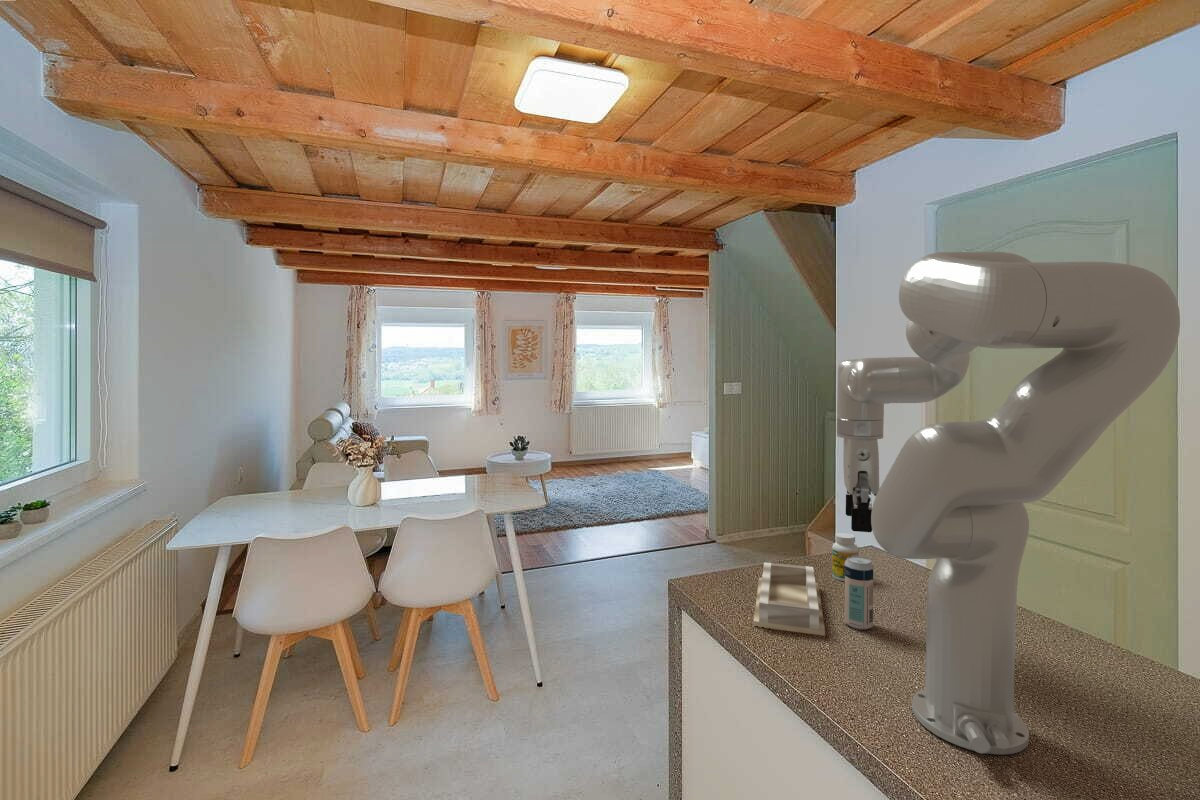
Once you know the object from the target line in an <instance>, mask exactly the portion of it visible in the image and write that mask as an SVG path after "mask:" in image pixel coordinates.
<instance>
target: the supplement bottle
mask: <svg viewBox="0 0 1200 800" xmlns="http://www.w3.org/2000/svg"><path fill="white" fill-rule="evenodd" d="M834 535H835V536H834V539H835V540H834V541H835V542H834V543H833V544H832V546H831V548H832V549H831V550H832V551H831V553H832V555H831V558H832V559H831V561H832V562H831V563H832V564H831V566H832V567H831V568H832V569H831V570H832V572H831V573H832V577H833V578H834V579H835V580H838V581H840V582H845V562H846V560H847V559H848V557H851V556H856V557H860V556H859V554H860V552H859V547H858V545H857V544H855V543H856V536H855V535H854V534H852V533H848V532H837V533H835V534H834Z"/></svg>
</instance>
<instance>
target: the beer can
mask: <svg viewBox="0 0 1200 800" xmlns="http://www.w3.org/2000/svg"><path fill="white" fill-rule="evenodd" d="M874 569H875V566H874V565H873V563H872V560H871V559H870V558H867V557H863V556H859V557H856V556H851V557H848V559H847V560H846V562H845V581H844V620H843V621H844V623H845V624H846V625H847V626H848V627H850V628H852V629H855V630H860V631H864V630H868V629H869V630H870V629H871V628H873V627H874Z"/></svg>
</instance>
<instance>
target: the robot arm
mask: <svg viewBox="0 0 1200 800" xmlns="http://www.w3.org/2000/svg"><path fill="white" fill-rule="evenodd" d="M898 302H899V303H898V304H899V306H900V310H901V312H902V313H903V315H904V316H905V318H907V319H908V321H907V324H906V326H905V337H906V340H907V343H908V345H909V347H910V348H911V350H912V351H913V352H914V353H915V354H916V355H917V356H895V357H894V356H892V357H890V356H889V357H866V358H861V359H860V358H858V359H857V358H856V359H845V360H843V361H841V362H840V363H839V364H838V367H837V388H836V390H837V393H836V394H837V397H836V400H837V401H836V437H837V438H842V439H843V453H842V455H843V459H842V460H843V465H842V466H843V467H842V468H843V480H844V481H843V483H844V486H845V488H846V494H845V515H846V516H847V517H850V518H851V520H850V521H851V522H850V524H851V525H850V528H851V531H853V532H862V533H872V534H873V537H874V538H875V540H876V542H877V544H878V545H879V546H880V548H882V549H883V550H884V551H885V552H887V553H888V554H890V555H892V556H894V557H898V558H900V559H905V560H907V559H908V560H936V561H935V563H934V565H933V567H932V569H931V571H930V573H929V577H928V580H927V587H926V627H925V631H926V632H925V633H926V634H925V637H926V639H925V688H923V689H921V690H918V691H917V692H915V694H914V695H913V697H912V700H911V709H912V713H913V714H914V717H915V719H916V720H917V721H918V722H919V723H920V724H921V725H922V726H923V727H924V728H925V729H927V730H928V731H929V732H930V733H932V734H934V735H935V736H937V737H939V738H941V739H942V740H944V741H946V742H949V743H951V744H953V745H955V746H957V747H960V748H964V749H967V750H969V751H974V752H976V753H979V754H981V755H982V754H988V755H989V754H990V755H1002V756H1003V755H1012V754H1017V753H1021V752H1022V751H1024V750H1025V749H1026V748H1027V747H1028V745H1029V743H1030V732H1029V731H1030V730H1029V728H1028V726H1027V724H1026V723H1025V722H1024V720H1023V719H1022V718H1021V717H1020V716H1019V715H1018V714H1016V713H1015V709H1014V708H1015V705H1014V704H1015V666H1016V662H1015V661H1016V625H1017V624H1016V622H1017V621H1016V619H1017V603H1018V601H1017V599H1018V584H1019V574H1020V569H1021V564H1022V561H1023V560H1022V559H1023V556H1024V552H1025V549H1026V545H1027V541H1028V538H1029V529H1030V520H1029V514H1028V511H1027V508H1026V506H1025V504H1029V503H1034V502H1037V501H1039V500H1042V499H1044V498H1045V497H1046V496H1047V495H1049V494H1050V493H1051V492H1052V491H1053V490H1054V489H1055V488H1056V487H1057V486H1058V485H1059V484H1060V483H1061V482H1062V481H1063V479H1064V478H1065V477H1066V476H1067V475H1068V473H1070V471H1071V470H1072V469H1073V468H1074V467H1075V466H1076V465H1077V463H1078V462H1079V461H1080V460H1081V459H1082V458H1083V457H1084V456H1085V455H1086V453H1088V451H1089V450H1090V449H1091V448H1092V447H1093V445H1095V443H1096V441H1097V440H1099V438H1100V437H1101V435H1102V434H1103V433H1104V432H1105V431H1106V430H1108V428H1109V426H1110V425H1111V424H1112V423H1113V422H1114V421H1116V419H1117V418H1119V416H1121V415H1122V414H1123V413H1124V412H1125V411H1126V410H1127V409H1128V408H1129V407H1130V406H1131V405H1133V403H1135V402H1136V401H1137V400H1138V398H1140V397H1141V396H1142V395H1143V394H1145V392H1146V391H1147V390H1148V389H1149V388H1150V387H1151V386H1152V384H1154V383H1155V381H1156V380H1157V378H1159V377H1160V375H1161V373H1162V372H1163V371H1164V369H1166V367H1167V365H1168V363H1169V362H1170V361H1171V358H1172V356H1173V355H1174V353H1175V349H1176V347H1177V344H1178V341H1179V336H1180V329H1181V315H1180V307H1179V302H1178V300H1177V297H1176V295H1175V294H1174V291H1173V290H1172V288H1171V287H1170V285H1169V284H1168V283H1167V282H1166V280H1164V279H1163V278H1162V277H1161V276H1159V275H1157V274H1156V273H1154V272H1152V271H1150V270H1149V269H1146V268H1143V267H1139V266H1135V265H1132V264H1126V263H1119V262H1112V261H1111V262H1110V261H1109V262H1107V261H1058V262H1057V261H1055V262H1054V261H1051V262H1050V261H1048V262H1047V261H1046V262H1045V261H1044V262H1041V261H1040V262H1039V261H1038V262H1034V261H1033V262H1032V261H1031V260H1029V259H1028V258H1026V257H1024V256H1021V255H1019V254H1015V253H1011V252H1005V251H942V252H934V253H929V254H927V255H925V256H923V257H921V258H919V259H918V260H917V261H915V262H914V264H912V265H911V266H910V268H908V270H907V271H906V272H905V274H904V276H903V277H902V280H901V282H900V286H899V291H898ZM977 347H980V348H987V349H998V350H999V349H1000V350H1001V349H1005V350H1011V349H1015V350H1016V349H1062V350H1061V351H1060V352H1059V353H1058V354H1056V355H1055V356H1054V357H1052V358H1051V359H1049V360H1047V361H1046V362H1045V363H1043V364H1041V365H1039V366H1038V367H1037V368H1035V369H1034V370H1033V371H1031V372H1030V373H1028V374H1027V375H1025V377H1024V378H1023V379H1021V380H1020V381H1019V382H1018V383H1017V384H1016V385H1015V386H1014V387H1013V389H1012V390H1011V392H1010V393H1009V395H1008V397H1007V398H1006V400H1005V401H1004V403H1003V404H1002V405H1001V406H1000V407H999V408H998V410H997V411H996V412H995V413H994V414H993V415H991V416H990V417H988V418H985V419H981V420H977V421H949V422H947V421H946V422H938V423H932V424H929V425H926V426H924V427H921V428H920V429H918V430H917V431H915V432H914V433H913V434H912V435H910V437H908V439H907V440H906V441H905V443H904V445H903V446H902V447H901V449H900V451H899V453H898V454H897V457H896V458H895V460H894V462H893V464H892V465H891V468H890V469H889V470H888V473H887V474H886V476H885V479H884V480H883V482H882V484H881V485H880V457H879V455H880V453H879V452H880V451H879V443H878V440H881V439H884V424H885V423H884V422H885V421H884V418H885V404H886V405H888V404H923V403H928V402H931V401H935V400H936V399H939V398H940V397H942V396H944V395H946V394H947V393H949V392H950V391H951V390H954V389H955V388H957V386H959V385H960V384H961V383H962V382H963V380H964V378H965V377H966V375H967V372H968V369H969V365H970V357H971V356H970V353H971V352H972V351H973V350H975V349H976V348H977ZM872 494H873V496H874V497H875V498H874V500H873V502H872Z"/></svg>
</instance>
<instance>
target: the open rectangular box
mask: <svg viewBox="0 0 1200 800" xmlns="http://www.w3.org/2000/svg"><path fill="white" fill-rule="evenodd" d="M762 567H763V568H762V575H761V577H759V578H758V585H757V591H756V599H755V607H754V614H753V620H752V621H753V627H754V626H758V627H757V628H762V627H764V629H769V628H770V629H771V630H776V631H777V630H778V631H784V632H785V631H787V632H793V633H794V632H795V633H802V634H810V635H818V636H822V637H823V636H826V628H825V622H824V621H825V620H824V616H823V615H824V614H823V608H822V601H821V600H822V599H821V593H820V586H819V583H816V578H815V572H814V566H808V565H799V564H798V565H795V564H786V563H785V564H783V563H773V562H763V566H762ZM770 629H769V630H770Z"/></svg>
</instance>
